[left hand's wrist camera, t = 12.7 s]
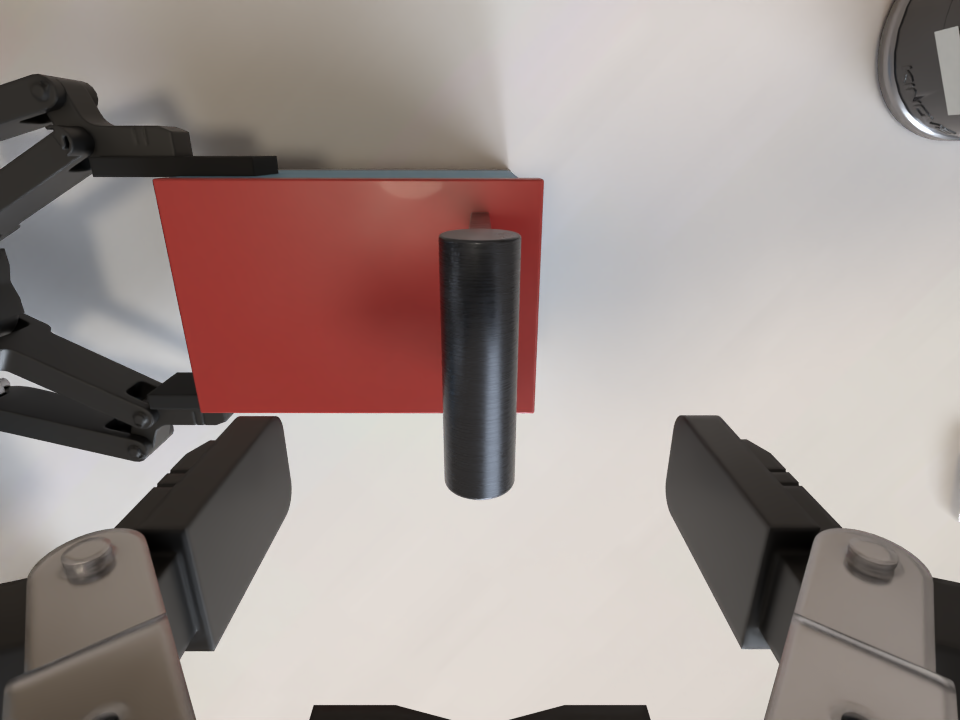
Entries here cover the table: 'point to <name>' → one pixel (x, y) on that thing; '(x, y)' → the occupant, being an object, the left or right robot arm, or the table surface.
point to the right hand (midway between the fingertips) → (282, 286)
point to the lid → (365, 302)
